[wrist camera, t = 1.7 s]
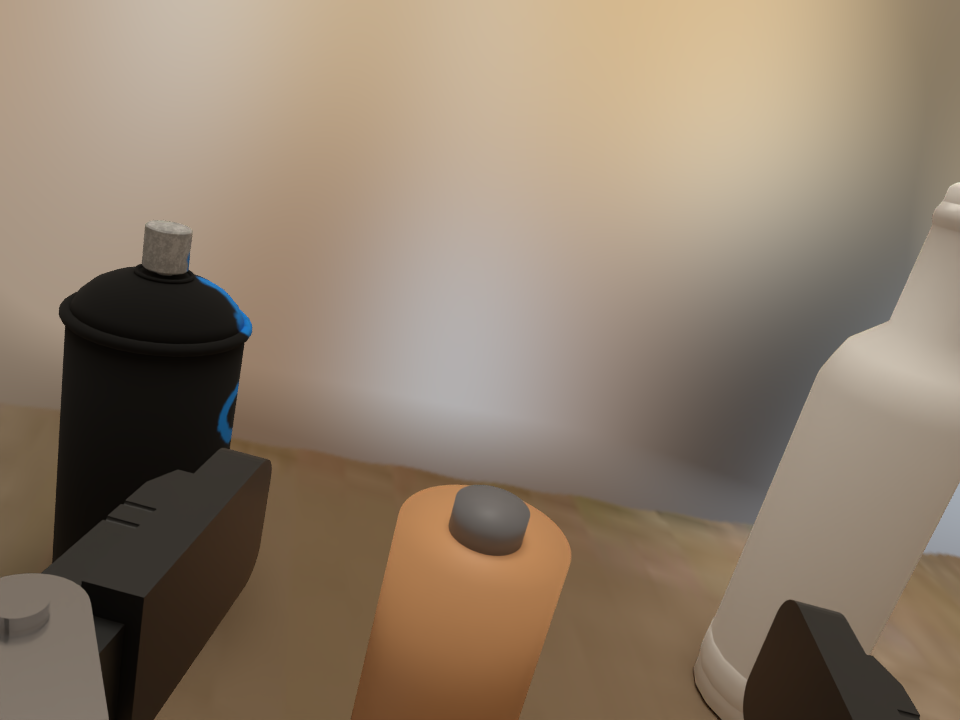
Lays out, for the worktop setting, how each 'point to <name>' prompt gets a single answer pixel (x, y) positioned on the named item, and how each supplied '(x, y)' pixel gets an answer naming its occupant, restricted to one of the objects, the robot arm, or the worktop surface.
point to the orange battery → (462, 607)
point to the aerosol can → (143, 380)
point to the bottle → (854, 477)
